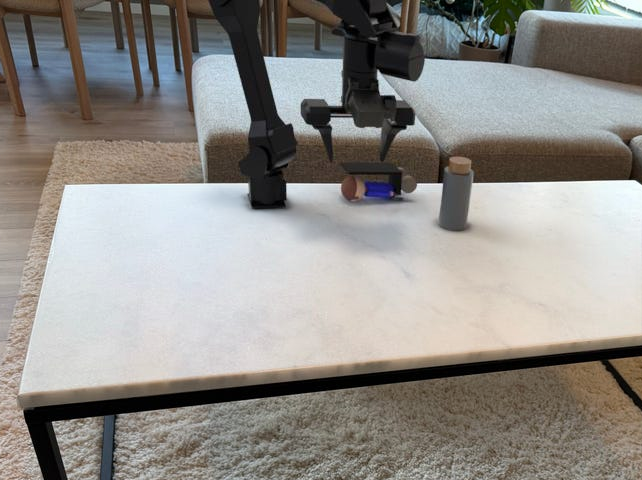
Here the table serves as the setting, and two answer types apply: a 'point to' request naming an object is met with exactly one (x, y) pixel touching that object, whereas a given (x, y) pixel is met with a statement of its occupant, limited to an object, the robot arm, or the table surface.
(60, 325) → the table surface
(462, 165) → the pepper mill
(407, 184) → the figurine character
